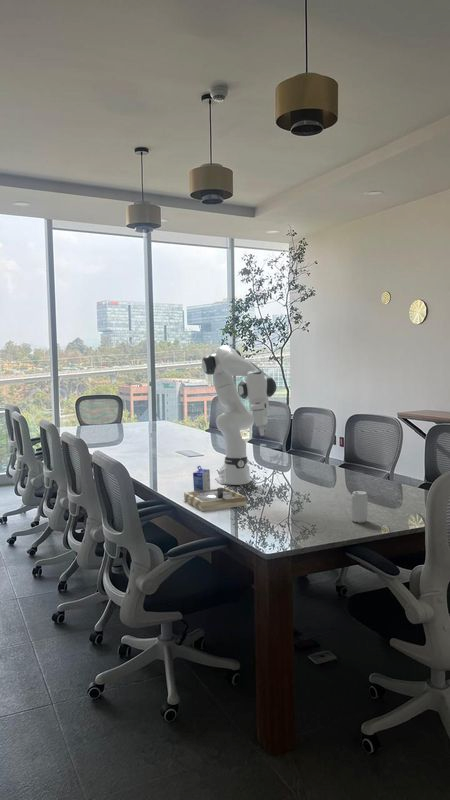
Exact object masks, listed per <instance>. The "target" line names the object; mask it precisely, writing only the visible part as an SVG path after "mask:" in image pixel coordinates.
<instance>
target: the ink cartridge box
mask: <svg viewBox="0 0 450 800" xmlns="http://www.w3.org/2000/svg"><path fill="white" fill-rule="evenodd" d="M196 468H197V470H196V471H194V472H192V478H193V491H202V490H210V489H211V478H210V477H211V476H210V475H211V474H210V472H211V471H210V470H211V469H209V468H208V469H206V468H202V466H201V465H198V466H197V467H196Z"/></svg>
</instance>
